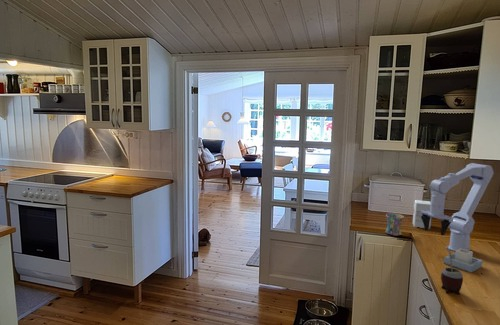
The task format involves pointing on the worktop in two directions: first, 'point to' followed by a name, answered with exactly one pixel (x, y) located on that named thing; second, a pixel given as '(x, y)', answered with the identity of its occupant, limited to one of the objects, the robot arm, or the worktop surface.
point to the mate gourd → (451, 278)
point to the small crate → (464, 256)
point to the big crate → (464, 264)
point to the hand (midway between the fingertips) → (434, 232)
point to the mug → (394, 224)
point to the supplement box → (418, 207)
